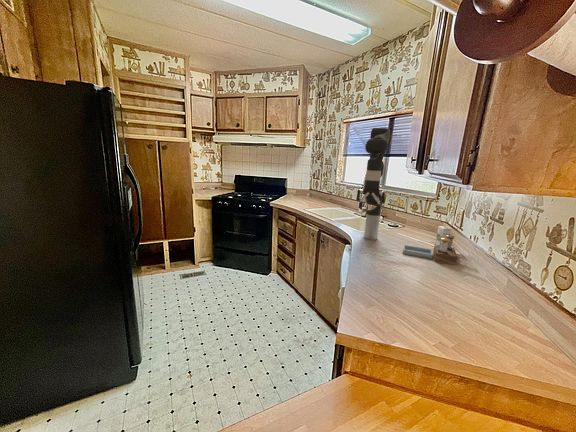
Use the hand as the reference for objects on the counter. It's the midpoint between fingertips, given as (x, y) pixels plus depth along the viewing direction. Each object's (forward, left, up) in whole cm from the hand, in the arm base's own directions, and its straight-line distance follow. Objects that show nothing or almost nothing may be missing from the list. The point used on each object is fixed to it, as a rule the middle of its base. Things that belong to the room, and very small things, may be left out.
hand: (369, 209), depth 131 cm
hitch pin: (-23, +39, -28) cm, 53 cm away
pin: (-31, +42, -28) cm, 59 cm away
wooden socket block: (-27, +41, -28) cm, 56 cm away
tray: (-27, +27, -28) cm, 47 cm away
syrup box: (-46, +41, -29) cm, 68 cm away
